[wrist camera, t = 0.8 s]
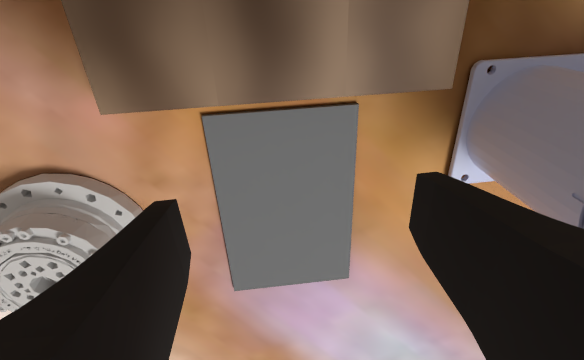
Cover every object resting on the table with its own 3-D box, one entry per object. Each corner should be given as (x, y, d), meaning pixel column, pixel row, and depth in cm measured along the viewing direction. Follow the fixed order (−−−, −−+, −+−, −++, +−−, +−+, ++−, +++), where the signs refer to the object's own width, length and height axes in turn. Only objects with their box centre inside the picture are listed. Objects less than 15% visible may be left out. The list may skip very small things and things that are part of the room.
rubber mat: (357, 102, 19) (358, 104, 19) (347, 275, 26) (348, 278, 26) (202, 114, 19) (201, 116, 18) (234, 288, 26) (234, 291, 25)
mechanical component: (113, 151, 19) (-44, 194, 20) (79, 190, 16) (-116, 242, 16) (181, 269, 24) (54, 301, 25) (168, 320, 21) (18, 358, 21)
